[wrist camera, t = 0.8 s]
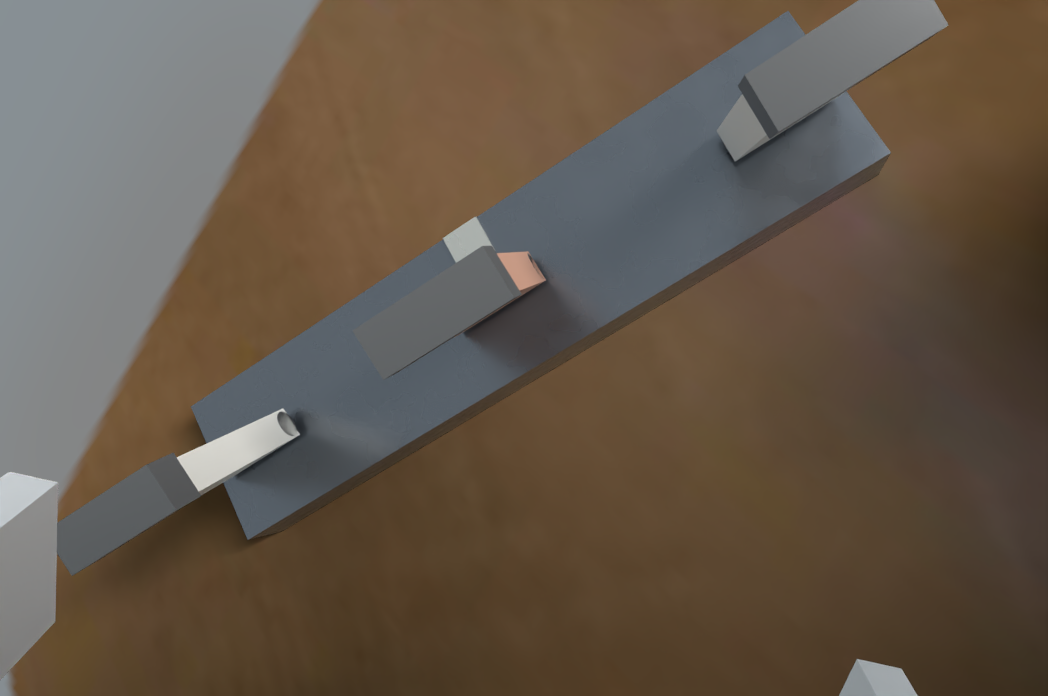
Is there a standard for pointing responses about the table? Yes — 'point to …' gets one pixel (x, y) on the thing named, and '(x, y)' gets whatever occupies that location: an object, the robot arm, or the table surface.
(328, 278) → the table surface
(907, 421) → the table surface
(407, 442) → the switch panel
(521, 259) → the lever middle
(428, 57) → the table surface
